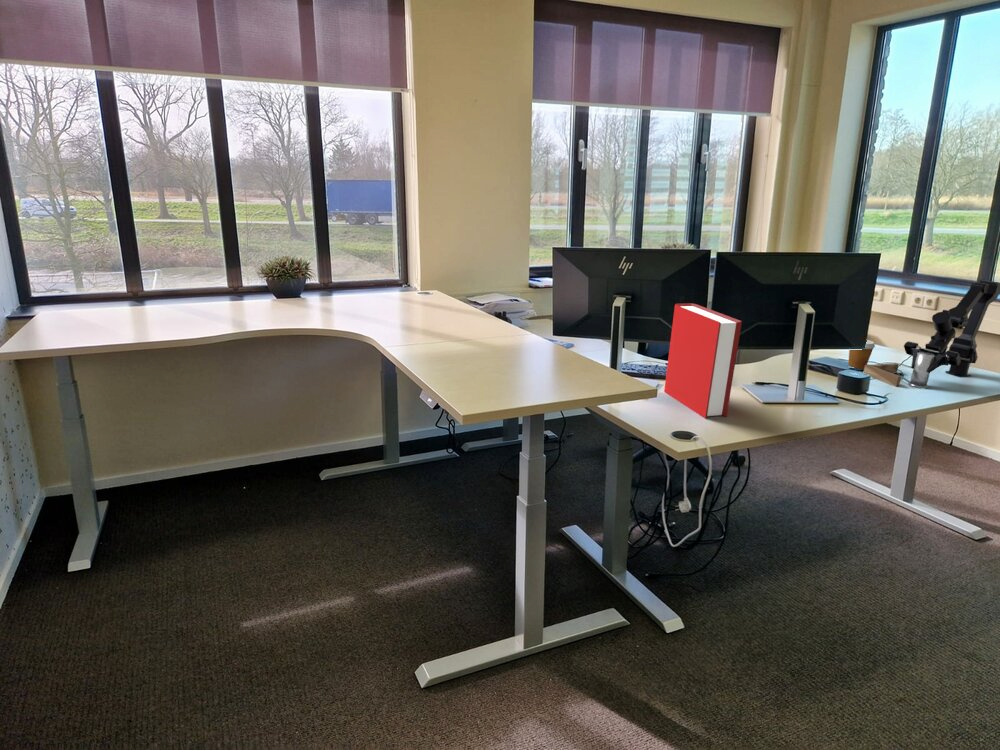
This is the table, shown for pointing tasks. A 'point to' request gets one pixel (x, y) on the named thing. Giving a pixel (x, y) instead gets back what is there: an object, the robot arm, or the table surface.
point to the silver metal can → (921, 370)
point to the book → (702, 359)
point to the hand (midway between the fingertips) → (920, 370)
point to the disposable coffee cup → (861, 356)
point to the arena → (884, 373)
